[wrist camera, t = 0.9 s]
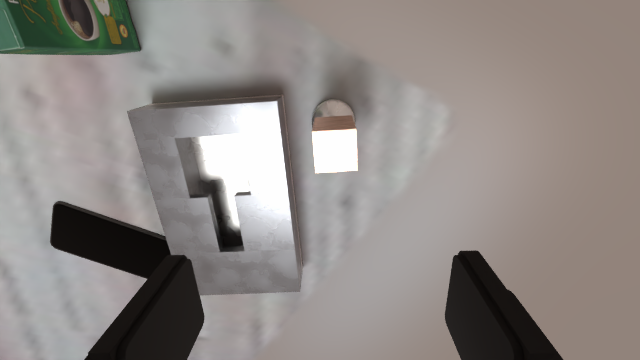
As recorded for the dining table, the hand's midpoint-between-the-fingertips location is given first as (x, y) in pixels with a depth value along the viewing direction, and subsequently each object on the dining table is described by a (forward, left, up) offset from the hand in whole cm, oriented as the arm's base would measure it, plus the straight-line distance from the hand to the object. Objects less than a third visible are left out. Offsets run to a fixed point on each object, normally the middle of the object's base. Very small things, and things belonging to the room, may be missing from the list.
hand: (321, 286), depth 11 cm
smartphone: (+13, -28, -25) cm, 40 cm away
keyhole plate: (+7, -11, -24) cm, 28 cm away
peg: (-1, +1, -24) cm, 24 cm away
